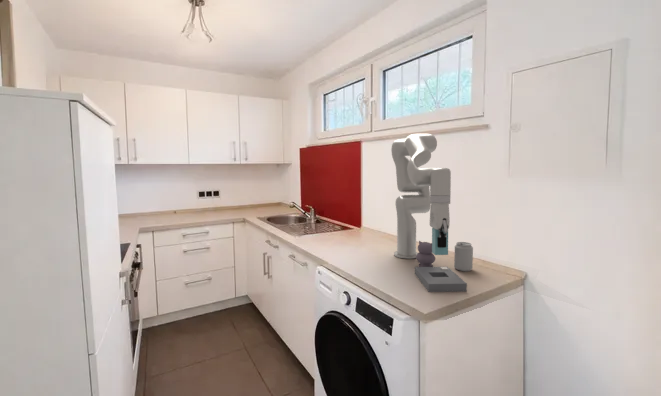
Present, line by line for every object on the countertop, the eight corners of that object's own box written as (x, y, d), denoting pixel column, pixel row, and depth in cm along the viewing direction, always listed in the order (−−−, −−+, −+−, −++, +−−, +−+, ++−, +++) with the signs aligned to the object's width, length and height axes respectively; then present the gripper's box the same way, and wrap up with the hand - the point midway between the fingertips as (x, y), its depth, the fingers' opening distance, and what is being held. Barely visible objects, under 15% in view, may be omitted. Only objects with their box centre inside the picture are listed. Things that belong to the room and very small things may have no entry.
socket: (414, 273, 137) (414, 265, 136) (447, 273, 136) (447, 265, 136) (428, 291, 117) (428, 282, 116) (466, 291, 116) (466, 282, 116)
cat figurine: (412, 268, 144) (413, 242, 143) (420, 263, 150) (420, 239, 149) (430, 271, 139) (431, 245, 138) (438, 267, 145) (438, 241, 143)
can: (457, 265, 147) (457, 240, 145) (474, 268, 142) (475, 242, 141) (451, 269, 141) (452, 243, 140) (469, 273, 136) (470, 246, 135)
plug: (431, 252, 127) (432, 227, 126) (444, 252, 127) (444, 227, 126) (435, 255, 123) (435, 229, 122) (448, 254, 123) (448, 229, 122)
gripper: (424, 198, 132) (424, 241, 133) (437, 201, 115) (437, 251, 116) (442, 198, 132) (442, 241, 133) (458, 201, 115) (457, 251, 116)
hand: (439, 245), depth 125 cm, fingers closed on plug, 4 cm apart
